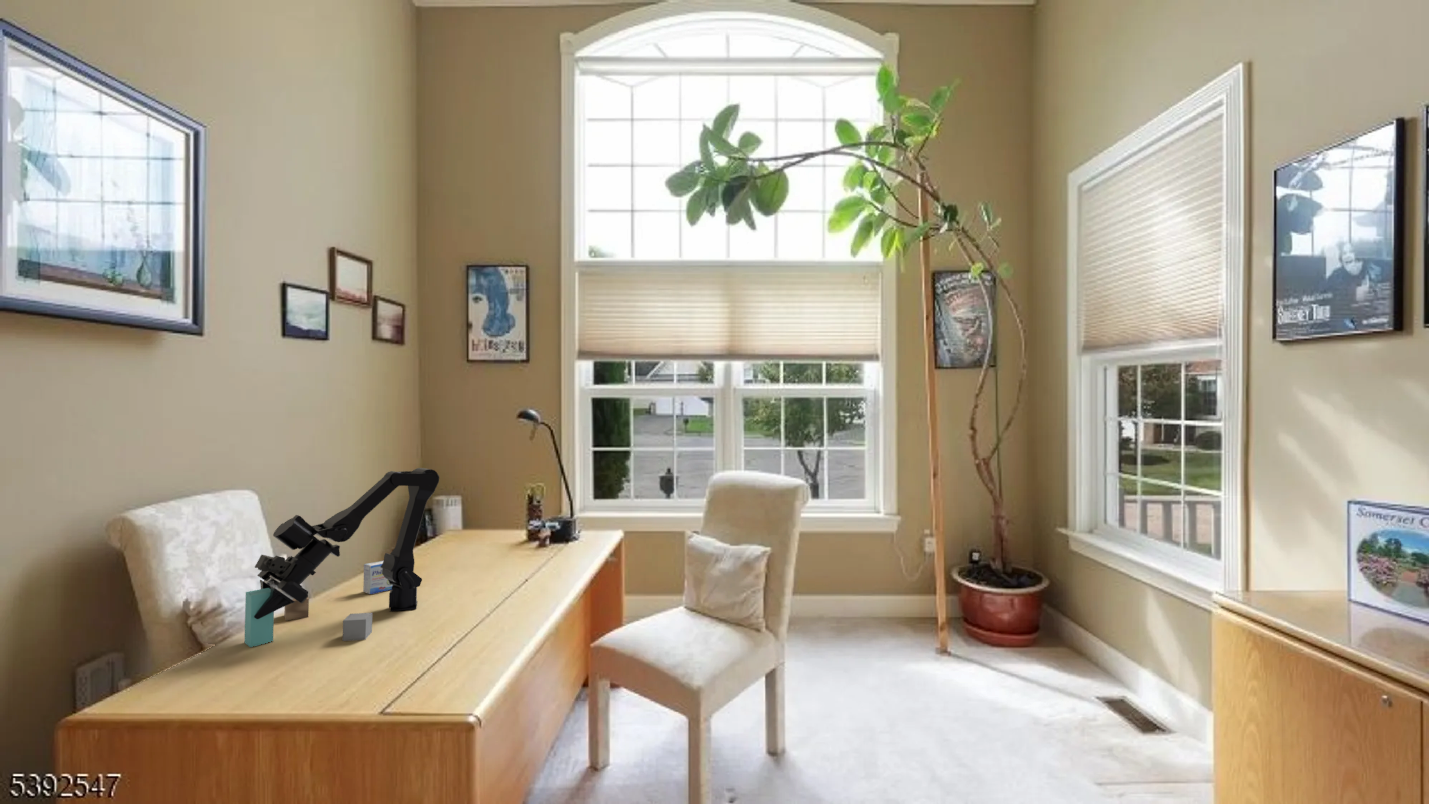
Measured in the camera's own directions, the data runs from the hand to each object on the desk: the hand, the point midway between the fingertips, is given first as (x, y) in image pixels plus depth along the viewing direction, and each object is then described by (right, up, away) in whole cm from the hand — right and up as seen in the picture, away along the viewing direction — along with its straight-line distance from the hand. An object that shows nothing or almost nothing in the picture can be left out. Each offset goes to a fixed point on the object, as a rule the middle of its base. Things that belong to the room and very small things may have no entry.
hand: (252, 615), depth 144 cm
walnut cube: (-3, -7, +19) cm, 20 cm away
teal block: (+1, -7, +1) cm, 7 cm away
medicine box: (+7, -7, +43) cm, 44 cm away
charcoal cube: (+22, -7, +6) cm, 23 cm away
